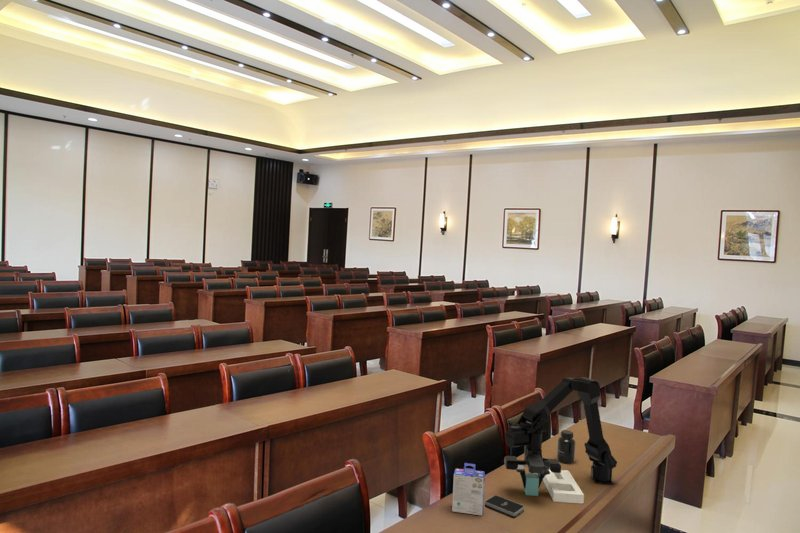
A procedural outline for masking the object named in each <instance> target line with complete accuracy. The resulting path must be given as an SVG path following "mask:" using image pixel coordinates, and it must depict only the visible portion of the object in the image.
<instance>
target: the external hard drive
mask: <svg viewBox="0 0 800 533" xmlns="http://www.w3.org/2000/svg"><path fill="white" fill-rule="evenodd" d="M484 506H485V507H486V508H487V509H490V510H493V511H495V512H498V513H500V514H502V515H505V516H507V517H509V518H513V519H515V518H517V517H518V516H520V515H521V514H522V513H523V512H524V511H525V506H524V505H523V504H520V503H518V502H515V501H513V500H510V499H507V498H504V497H503V496H500V495H497V494H494V495H493V496H490V497H489V498H488V499H486V500H485V501H484Z"/></svg>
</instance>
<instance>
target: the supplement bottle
mask: <svg viewBox="0 0 800 533" xmlns="http://www.w3.org/2000/svg"><path fill="white" fill-rule="evenodd" d="M556 449H557V452H556V459H557V460H558V462H559V463H563V464H566V465H571V464H574V462H575V456H576V453H575V452H576V440H575V439H574V432H573V431H571V430H568V429H562V430H561V431H560V436H559V437H558V439H557V448H556Z"/></svg>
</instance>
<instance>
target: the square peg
mask: <svg viewBox="0 0 800 533" xmlns="http://www.w3.org/2000/svg"><path fill="white" fill-rule="evenodd" d="M525 482H526V486H525V488H524V487H523V492H524V494H525V496H536V497H539V489H540V487H539V478H538V473H530V472H525Z"/></svg>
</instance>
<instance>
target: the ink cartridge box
mask: <svg viewBox="0 0 800 533" xmlns="http://www.w3.org/2000/svg"><path fill="white" fill-rule="evenodd" d="M463 464H464V466H463V468H455V469H454V473H453V478H452V479H453V480H452V481H453V483H452V501H451V502H452V503H451V505H452V507H451V512H454V513H461V514H467V515H476V516H483V514H484V506H485V501H484V500H485V483H486V482H485V479H486V476H485V475H486V474H485V473H486V472H485V471H483V470H476V464H475V463H469V462H464V463H463ZM468 467H469V468H468ZM470 467H472V468H470Z"/></svg>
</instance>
